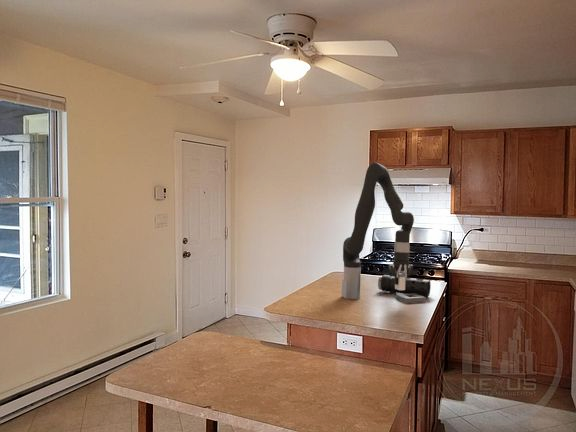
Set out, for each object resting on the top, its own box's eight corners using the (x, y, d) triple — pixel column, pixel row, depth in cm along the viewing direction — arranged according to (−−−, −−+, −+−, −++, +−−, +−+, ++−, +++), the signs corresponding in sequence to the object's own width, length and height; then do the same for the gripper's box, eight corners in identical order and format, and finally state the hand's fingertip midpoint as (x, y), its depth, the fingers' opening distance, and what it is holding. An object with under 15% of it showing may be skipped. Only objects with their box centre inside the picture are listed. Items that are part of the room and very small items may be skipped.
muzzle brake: (426, 299, 237) (427, 281, 236) (377, 293, 251) (377, 275, 250) (430, 296, 245) (431, 278, 245) (382, 290, 259) (382, 273, 258)
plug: (399, 290, 218) (399, 274, 218) (394, 288, 222) (395, 273, 222) (405, 290, 219) (405, 274, 219) (400, 288, 223) (401, 273, 223)
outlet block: (406, 303, 228) (406, 298, 228) (396, 298, 237) (396, 294, 237) (425, 302, 231) (425, 297, 231) (414, 297, 241) (415, 293, 241)
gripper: (393, 251, 214) (391, 286, 215) (418, 251, 218) (416, 285, 219) (385, 249, 222) (384, 283, 222) (410, 250, 225) (408, 282, 226)
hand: (400, 284), depth 221 cm, fingers closed on plug, 3 cm apart
